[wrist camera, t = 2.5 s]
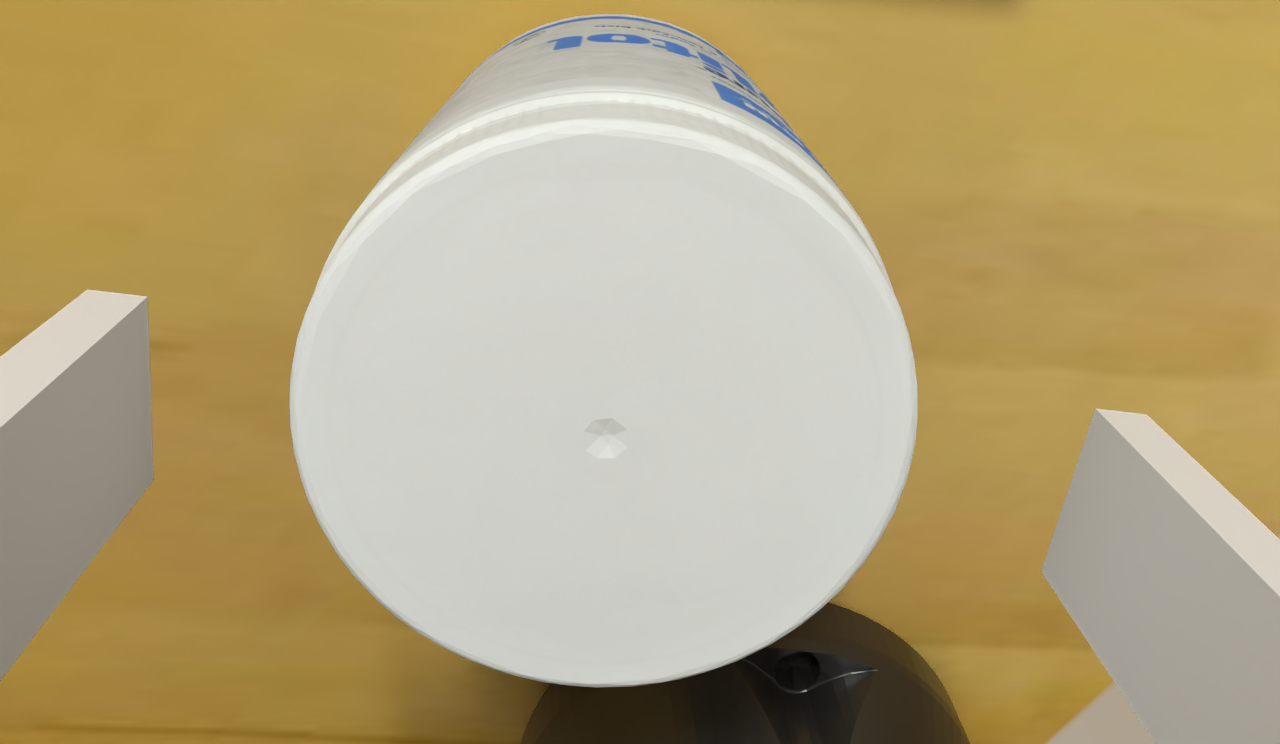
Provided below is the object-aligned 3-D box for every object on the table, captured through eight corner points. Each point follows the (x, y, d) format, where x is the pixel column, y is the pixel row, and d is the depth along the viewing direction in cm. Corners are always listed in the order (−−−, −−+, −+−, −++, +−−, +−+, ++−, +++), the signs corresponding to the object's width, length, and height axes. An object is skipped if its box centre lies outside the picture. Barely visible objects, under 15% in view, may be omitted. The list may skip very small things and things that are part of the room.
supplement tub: (825, 50, 28) (1040, 183, 15) (741, 384, 32) (850, 739, 18) (447, -28, 27) (302, 40, 14) (403, 327, 31) (254, 660, 17)
